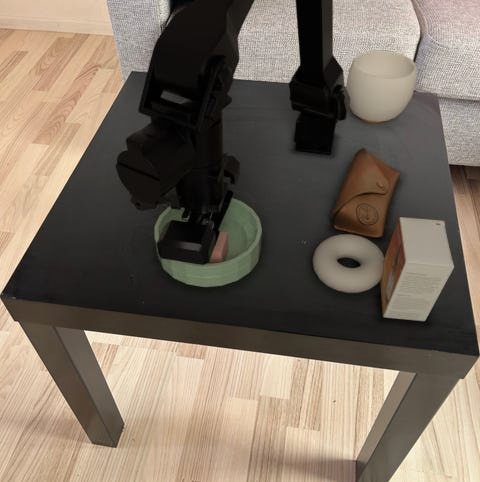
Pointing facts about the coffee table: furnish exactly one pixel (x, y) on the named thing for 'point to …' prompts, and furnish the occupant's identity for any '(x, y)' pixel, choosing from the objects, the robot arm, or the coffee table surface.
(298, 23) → the robot arm
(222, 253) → the eraser
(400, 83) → the cup
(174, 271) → the bowl
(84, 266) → the coffee table surface
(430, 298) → the small box
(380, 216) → the sunglasses case
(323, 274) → the donut
